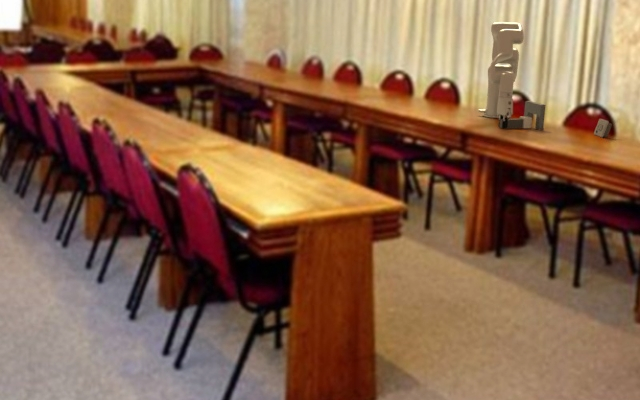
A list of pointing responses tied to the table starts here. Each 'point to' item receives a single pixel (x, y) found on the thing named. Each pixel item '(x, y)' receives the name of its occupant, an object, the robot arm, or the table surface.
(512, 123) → the plug
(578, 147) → the table surface
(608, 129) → the electrical switch
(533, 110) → the grey arch block
